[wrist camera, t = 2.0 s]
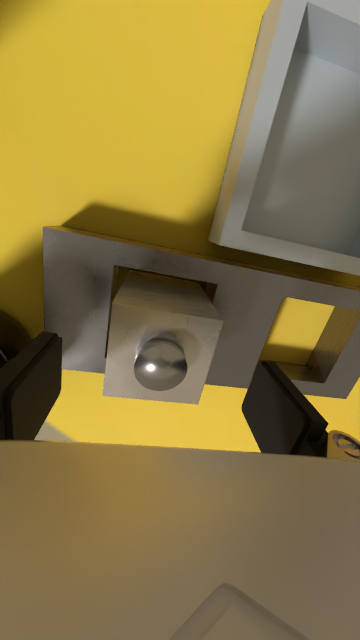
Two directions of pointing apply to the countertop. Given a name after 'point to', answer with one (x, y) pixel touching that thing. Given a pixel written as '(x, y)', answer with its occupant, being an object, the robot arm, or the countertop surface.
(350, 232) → the parts tray
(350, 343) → the rail
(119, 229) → the countertop surface
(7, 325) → the supplement bottle
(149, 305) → the beige block with knob
